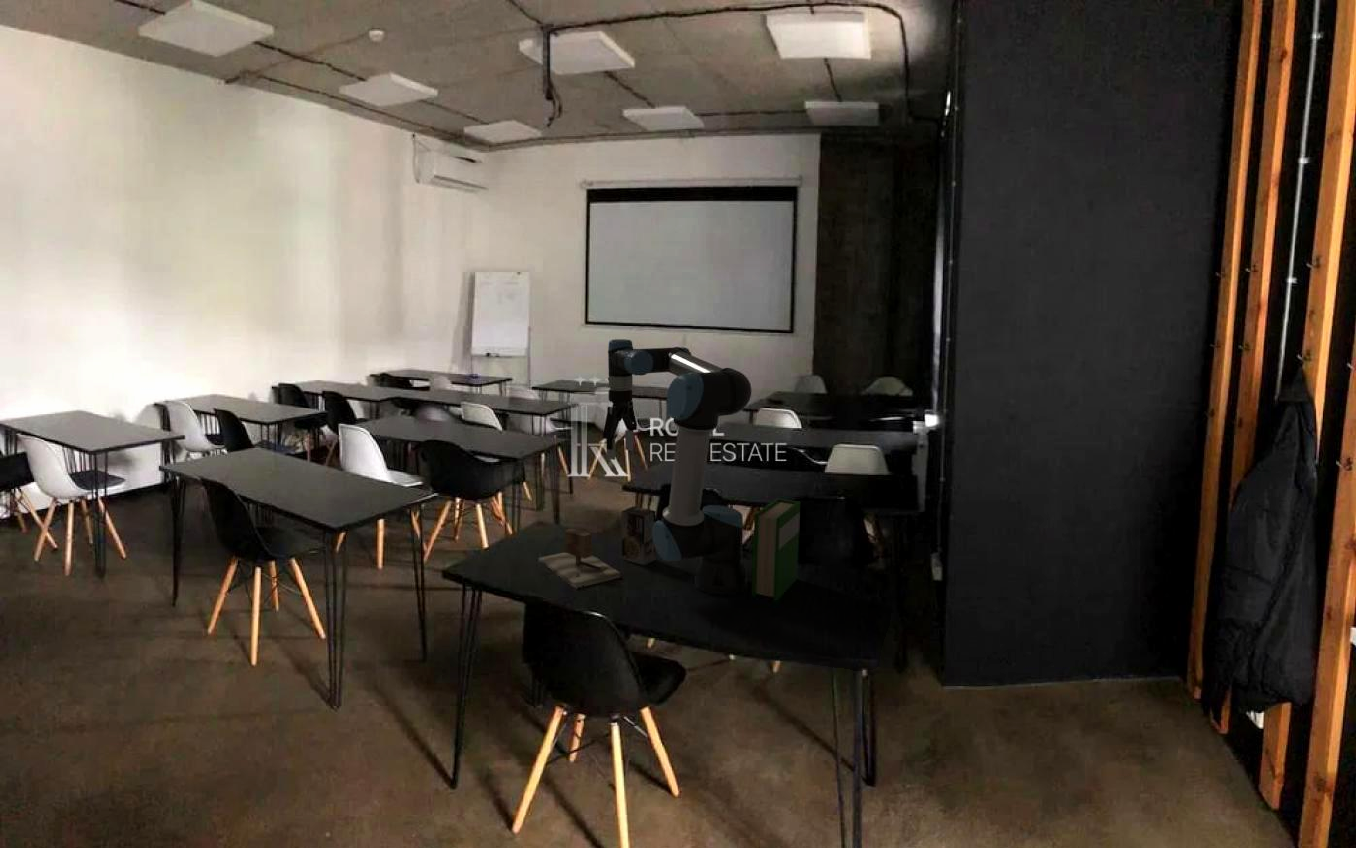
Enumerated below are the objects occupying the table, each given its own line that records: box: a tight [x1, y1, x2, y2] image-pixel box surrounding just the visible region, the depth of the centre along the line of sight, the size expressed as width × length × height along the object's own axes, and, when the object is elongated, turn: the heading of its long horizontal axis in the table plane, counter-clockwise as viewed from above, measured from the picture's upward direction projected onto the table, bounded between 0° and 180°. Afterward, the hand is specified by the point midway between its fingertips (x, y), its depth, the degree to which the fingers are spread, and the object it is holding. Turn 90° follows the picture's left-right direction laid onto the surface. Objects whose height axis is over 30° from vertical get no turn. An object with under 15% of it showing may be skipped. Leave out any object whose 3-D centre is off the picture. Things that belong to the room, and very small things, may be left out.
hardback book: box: [751, 497, 801, 602], centre depth 220 cm, size 18×7×24 cm, turn 153°
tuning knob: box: [564, 528, 601, 570], centre depth 231 cm, size 12×3×10 cm, turn 55°
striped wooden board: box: [538, 551, 621, 589], centre depth 233 cm, size 24×15×2 cm, turn 36°
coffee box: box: [620, 506, 656, 566], centre depth 241 cm, size 9×6×16 cm
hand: (620, 454), depth 246 cm, fingers open, 13 cm apart
